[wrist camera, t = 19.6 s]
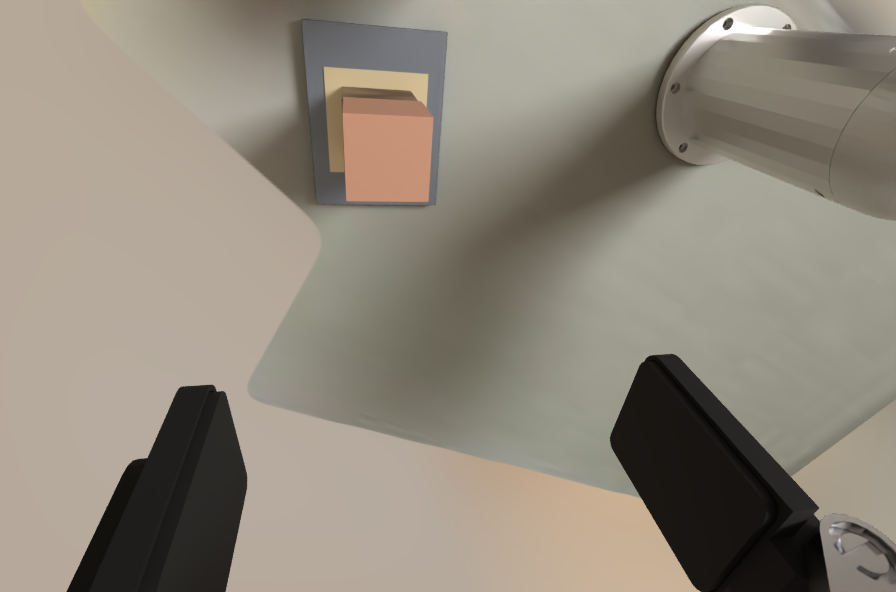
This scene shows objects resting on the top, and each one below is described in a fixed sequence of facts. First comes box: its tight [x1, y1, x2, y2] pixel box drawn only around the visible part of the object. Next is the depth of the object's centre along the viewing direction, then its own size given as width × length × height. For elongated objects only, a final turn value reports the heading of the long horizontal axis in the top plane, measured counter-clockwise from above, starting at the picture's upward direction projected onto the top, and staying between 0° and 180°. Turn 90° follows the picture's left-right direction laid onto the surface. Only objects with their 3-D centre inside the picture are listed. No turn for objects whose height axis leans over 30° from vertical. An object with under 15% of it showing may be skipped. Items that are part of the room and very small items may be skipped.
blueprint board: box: [302, 19, 448, 205], centre depth 34 cm, size 10×13×1 cm
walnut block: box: [341, 86, 418, 172], centre depth 32 cm, size 5×5×5 cm
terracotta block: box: [342, 97, 434, 202], centre depth 28 cm, size 5×5×5 cm
